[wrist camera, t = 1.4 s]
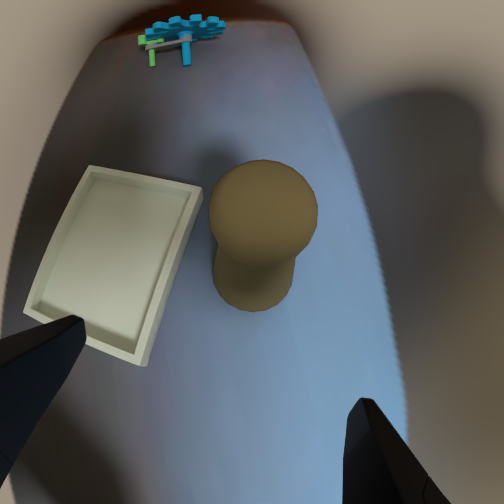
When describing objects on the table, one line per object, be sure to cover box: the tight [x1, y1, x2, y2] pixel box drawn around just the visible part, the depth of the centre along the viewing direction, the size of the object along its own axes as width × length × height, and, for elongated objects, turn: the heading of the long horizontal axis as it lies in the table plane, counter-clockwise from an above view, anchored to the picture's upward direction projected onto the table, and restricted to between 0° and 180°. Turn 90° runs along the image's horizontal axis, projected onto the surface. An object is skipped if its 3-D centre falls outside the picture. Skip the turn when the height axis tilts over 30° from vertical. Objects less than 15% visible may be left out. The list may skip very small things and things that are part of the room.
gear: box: [138, 15, 226, 67], centre depth 31 cm, size 11×6×10 cm
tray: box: [23, 165, 204, 367], centre depth 22 cm, size 14×11×2 cm
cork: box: [208, 160, 318, 312], centre depth 18 cm, size 6×6×11 cm
